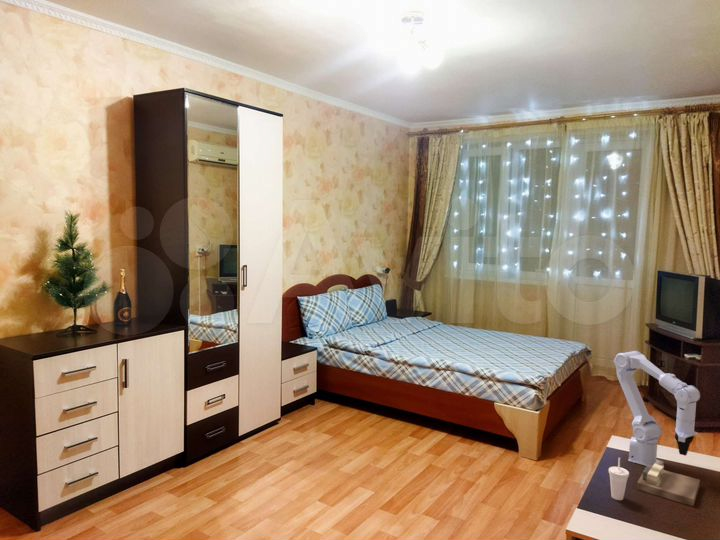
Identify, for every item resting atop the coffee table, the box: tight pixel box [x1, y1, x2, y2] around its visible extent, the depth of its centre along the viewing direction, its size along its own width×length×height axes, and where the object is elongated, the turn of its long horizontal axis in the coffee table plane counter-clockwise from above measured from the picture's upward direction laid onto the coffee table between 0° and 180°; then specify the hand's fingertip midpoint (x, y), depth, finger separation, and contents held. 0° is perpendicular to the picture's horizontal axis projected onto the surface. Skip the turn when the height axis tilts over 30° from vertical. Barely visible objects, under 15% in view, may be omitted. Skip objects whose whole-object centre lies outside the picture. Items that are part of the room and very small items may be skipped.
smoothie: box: [608, 457, 630, 501], centre depth 177 cm, size 6×6×14 cm
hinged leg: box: [647, 459, 665, 485], centre depth 187 cm, size 13×3×4 cm, turn 138°
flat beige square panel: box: [636, 465, 701, 507], centre depth 184 cm, size 17×17×6 cm
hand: (683, 454), depth 190 cm, fingers closed
